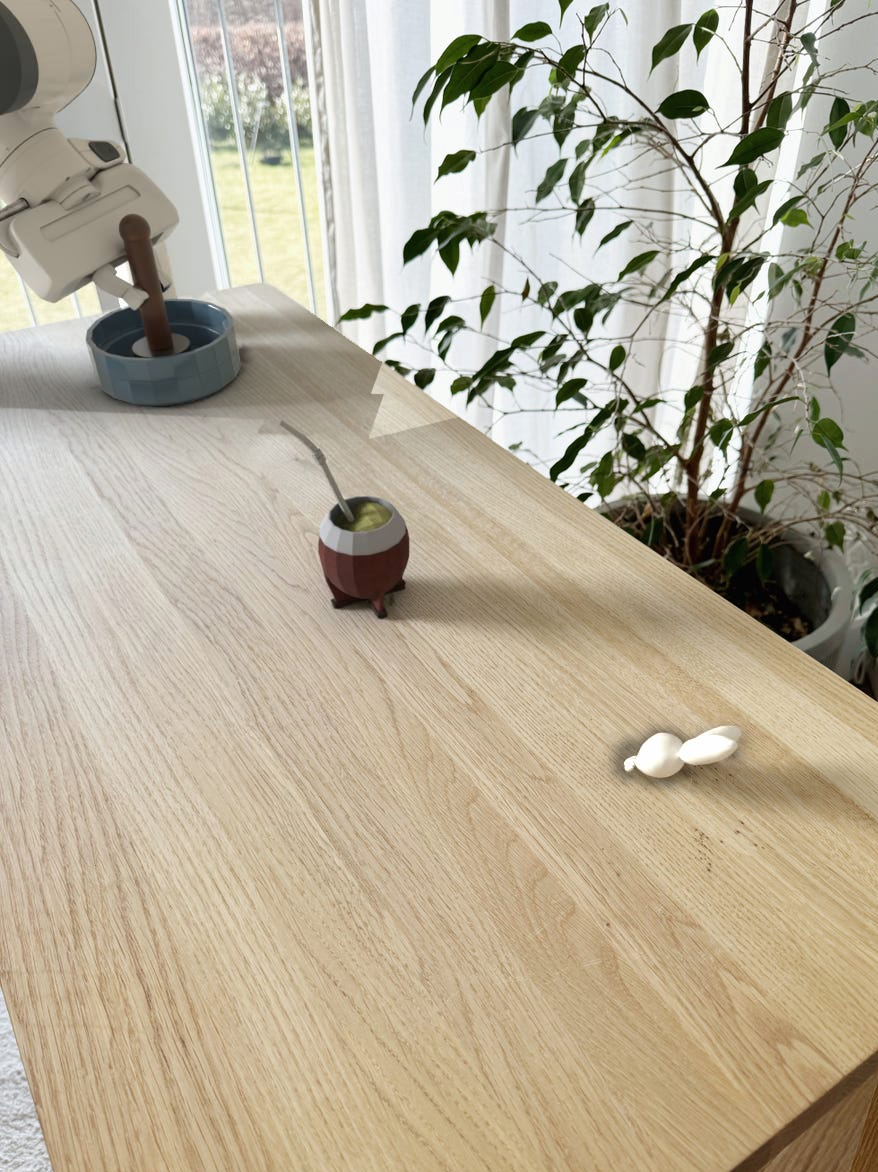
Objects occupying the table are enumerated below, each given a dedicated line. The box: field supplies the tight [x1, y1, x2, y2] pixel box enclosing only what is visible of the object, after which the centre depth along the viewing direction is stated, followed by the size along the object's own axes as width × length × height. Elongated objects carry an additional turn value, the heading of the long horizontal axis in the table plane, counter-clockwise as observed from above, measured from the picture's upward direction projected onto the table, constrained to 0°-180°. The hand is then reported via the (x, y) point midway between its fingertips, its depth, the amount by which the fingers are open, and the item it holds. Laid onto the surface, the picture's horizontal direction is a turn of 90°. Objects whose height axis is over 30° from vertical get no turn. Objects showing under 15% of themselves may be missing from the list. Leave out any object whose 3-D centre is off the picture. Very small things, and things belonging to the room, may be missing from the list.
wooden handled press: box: [119, 214, 192, 358], centre depth 103 cm, size 6×6×16 cm
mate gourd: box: [279, 420, 410, 620], centre depth 77 cm, size 8×8×15 cm
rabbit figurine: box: [623, 725, 743, 779], centre depth 66 cm, size 6×4×8 cm
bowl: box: [85, 298, 242, 407], centre depth 109 cm, size 15×15×6 cm
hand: (154, 296), depth 103 cm, fingers closed on wooden handled press, 2 cm apart
